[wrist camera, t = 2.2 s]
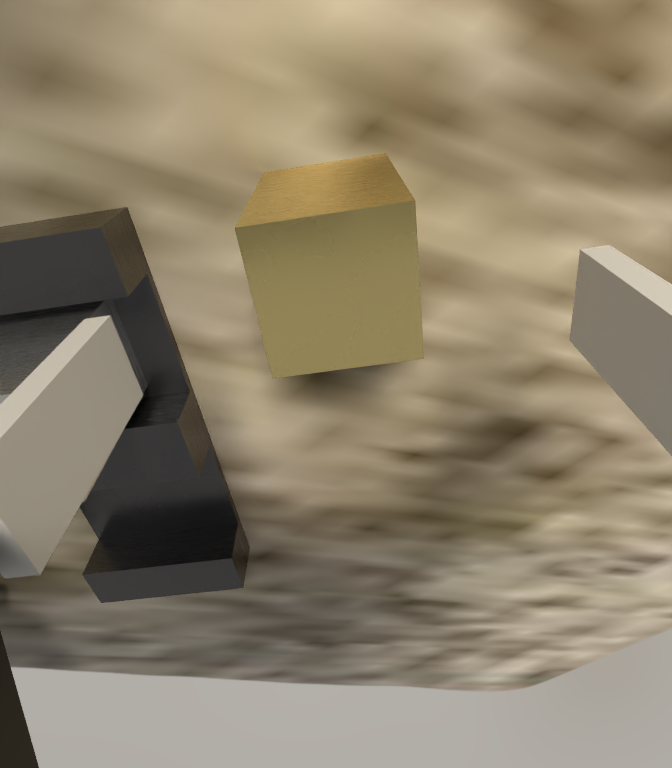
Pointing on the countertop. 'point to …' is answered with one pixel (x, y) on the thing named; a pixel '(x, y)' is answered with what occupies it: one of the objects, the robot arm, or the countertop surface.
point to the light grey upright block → (50, 342)
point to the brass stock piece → (333, 266)
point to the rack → (135, 417)
